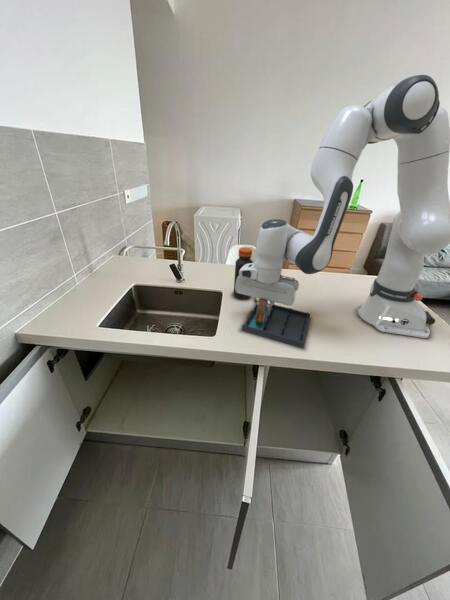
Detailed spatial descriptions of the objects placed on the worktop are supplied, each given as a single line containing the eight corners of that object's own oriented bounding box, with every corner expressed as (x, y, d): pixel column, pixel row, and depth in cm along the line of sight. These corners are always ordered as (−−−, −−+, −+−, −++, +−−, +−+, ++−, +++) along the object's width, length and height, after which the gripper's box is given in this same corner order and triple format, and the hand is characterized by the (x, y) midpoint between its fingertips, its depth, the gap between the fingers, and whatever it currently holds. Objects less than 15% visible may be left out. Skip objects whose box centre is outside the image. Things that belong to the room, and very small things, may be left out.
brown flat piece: (260, 305, 93) (261, 285, 89) (268, 306, 93) (270, 286, 88) (254, 328, 81) (255, 307, 77) (263, 329, 80) (265, 308, 76)
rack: (309, 317, 89) (311, 309, 87) (302, 348, 75) (305, 338, 73) (257, 304, 95) (258, 296, 93) (241, 330, 81) (242, 321, 79)
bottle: (237, 290, 105) (240, 245, 95) (252, 294, 103) (257, 248, 92) (230, 297, 100) (233, 250, 89) (246, 301, 97) (250, 253, 87)
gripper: (301, 275, 77) (293, 311, 84) (241, 263, 83) (238, 297, 90) (298, 283, 72) (290, 321, 79) (234, 269, 78) (232, 305, 85)
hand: (262, 308), depth 85 cm, fingers closed on brown flat piece, 3 cm apart
